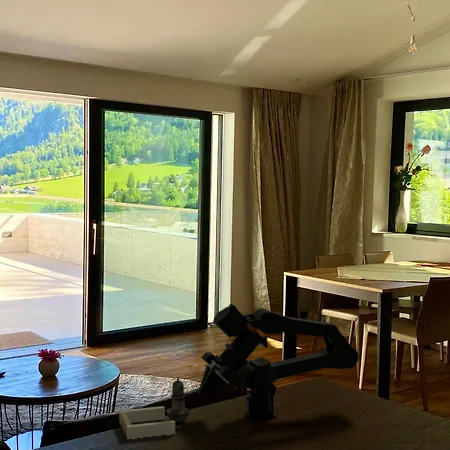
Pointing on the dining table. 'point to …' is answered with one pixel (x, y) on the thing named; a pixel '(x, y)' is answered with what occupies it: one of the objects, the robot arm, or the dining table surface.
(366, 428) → the dining table surface
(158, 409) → the white shallow tray
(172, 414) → the salt shaker
